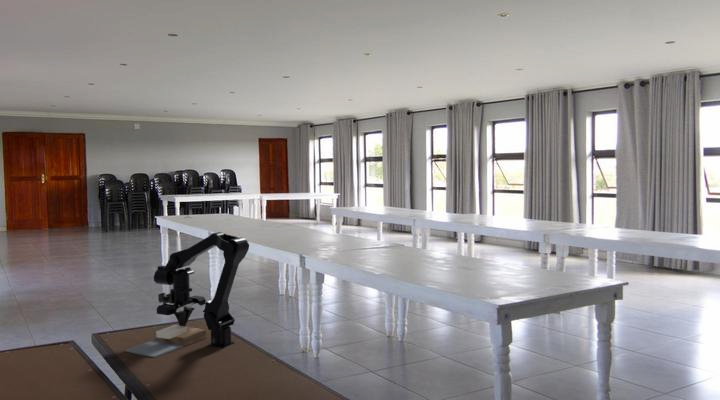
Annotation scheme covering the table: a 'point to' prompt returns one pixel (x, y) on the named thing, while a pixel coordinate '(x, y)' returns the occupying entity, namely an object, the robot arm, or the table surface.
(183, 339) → the deck
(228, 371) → the table surface
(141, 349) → the mat
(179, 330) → the cream rectangular block
